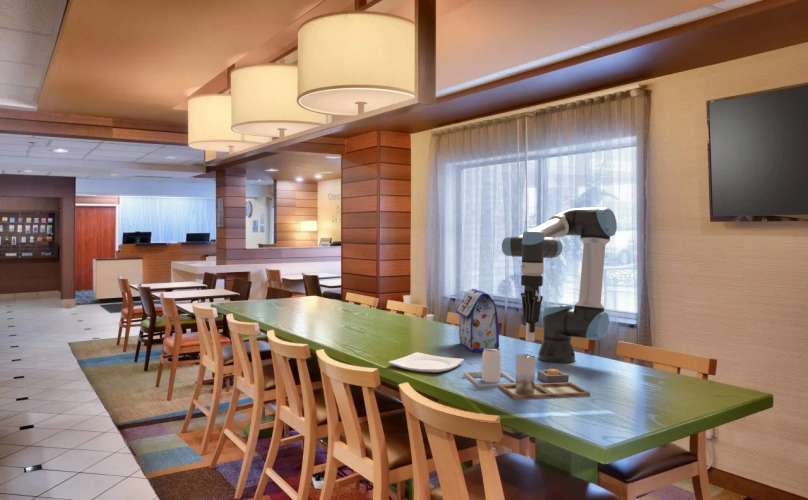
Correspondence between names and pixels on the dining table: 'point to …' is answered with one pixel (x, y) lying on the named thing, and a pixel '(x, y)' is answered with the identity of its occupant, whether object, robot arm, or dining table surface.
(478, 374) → the grey rectangular frame
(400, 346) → the dining table surface
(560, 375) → the grey square egg holder
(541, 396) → the divided wooden tray
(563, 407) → the dining table surface
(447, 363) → the plate
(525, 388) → the billet
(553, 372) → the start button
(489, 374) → the can
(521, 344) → the dining table surface
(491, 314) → the lunch bag
